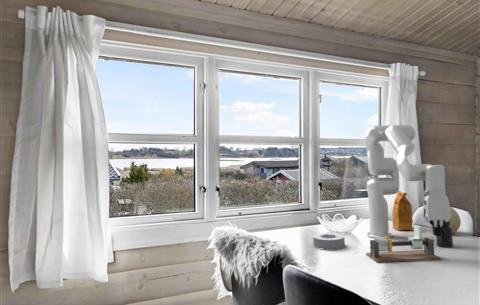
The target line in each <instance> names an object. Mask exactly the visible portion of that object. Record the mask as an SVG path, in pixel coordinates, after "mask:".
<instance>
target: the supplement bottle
mask: <svg viewBox="0 0 480 305" xmlns="http://www.w3.org/2000/svg"><path fill="white" fill-rule="evenodd" d="M449 225H450V221H448V222H445V223H444V224H443V226H442V227H441V236H435V238H436V240H435V241H436V246H437V247H439V248H452V247H453V246H454V240H453V239H454V238H453V237H454V235H453V234H454V233H452V228H451V227H450V226H449Z"/></svg>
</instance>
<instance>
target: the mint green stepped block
mask: <svg viewBox="0 0 480 305" xmlns="http://www.w3.org/2000/svg"><path fill="white" fill-rule="evenodd" d="M413 235H414V236H408V237H407V241H412V245H409V246H407V247H408V248H410V249H411V250H424V245H423V244H422V240H423V227H422V226H420V225H417V224H414V225H413Z"/></svg>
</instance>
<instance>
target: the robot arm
mask: <svg viewBox="0 0 480 305" xmlns="http://www.w3.org/2000/svg"><path fill="white" fill-rule="evenodd" d="M415 138H416V131H415V128H414V127H413V126H411V125H410V124H393V125H373V126H369V127H368V128H367V129H366V131H365V133H364V142H365V147H366V152H367V154H366V156H367V170H368V172H369V174H370V175H372V176H385V177H374V178H373V177H372V178H370V179H368V180H367V182H366V186H365V187H366V191H367V196H368V209H369V210H368V213H369V215H368V216H369V217H368V218H369V232H367V233H366V236H367V237H369V238H371V239H374V238H382V237H383V238H384V237H388V238H390V239H392V237H393V235H392V233H391V232H390V230H389V229H390V228H389V208H388V207H389V206H388V201H387V200H386V198H385V197H384V196H390V195H397V193H398V191H400V174H401V176H402V178H404V179H405V180H406V181H408V182H419V181H421V182H424V181H425V190H424V191H423V190H422V191H423V192H422V194H423V195H425V196H424V197H423V205H422V216H423V222H424V223H428V224H429V225H430V226H432V234H433V236H435V237H436V236H441V227H442V226H443V224H444V223H445V222H448V221H449V219H450V218H451V211H450V207H451V206H450V201H449V197H448V196H447V195H446V177H445V176H446V174H445V173H446V172H445V167H444V165H441V164H430V163H419V164H418V163H417V164H414V163H413V164H411V162H410V161H409V160H408V159H407V157H408V156H410V155H411V154H412V153H413V152H414V151H415V149H416V147H415V144H414V143H413V140H414V139H415ZM381 142H389V144H390V145H391V146H392V148H393V149H394V151H395V153H396V154H397V155H396V159H395V158H393V157H385V149H384V147H383V146H382V144H381ZM436 220H437V222H436Z"/></svg>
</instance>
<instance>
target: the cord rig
mask: <svg viewBox="0 0 480 305" xmlns="http://www.w3.org/2000/svg"><path fill="white" fill-rule="evenodd" d="M434 240H435V239H432V238H430V237H423V239H422V244H423V249H415V250H399V251H397V250H396V251H395V250H394V251H393V247H408V246H409V245H412V241H408V240H399V241H392V238H388V237H384V238H383V237H382V238H373V239H372V240H371V239H370V240H369V246H370V252H365V255H366V256H367V257H368V258H369V259H371V260H372V259H373V260H372V261H374V262H375V261H376V262H375V263H377V264H384V263H383V262H386V263H403V262H404V263H406V262H422V261H423V262H424V261H425V262H426V261H441V259H442V258H441V257H440V256H438V255H436V254H435V242H434Z"/></svg>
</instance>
